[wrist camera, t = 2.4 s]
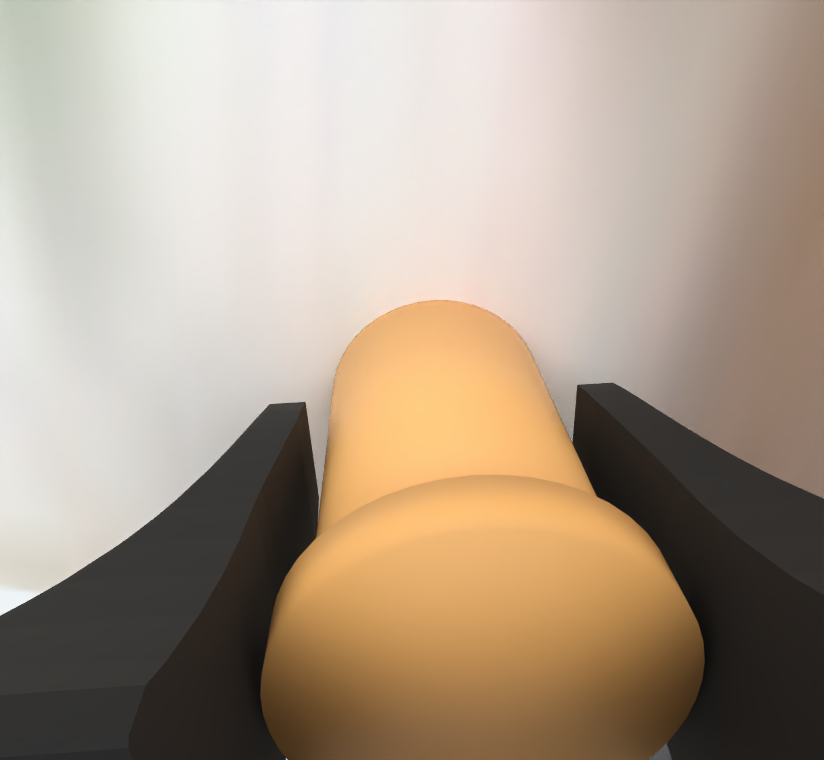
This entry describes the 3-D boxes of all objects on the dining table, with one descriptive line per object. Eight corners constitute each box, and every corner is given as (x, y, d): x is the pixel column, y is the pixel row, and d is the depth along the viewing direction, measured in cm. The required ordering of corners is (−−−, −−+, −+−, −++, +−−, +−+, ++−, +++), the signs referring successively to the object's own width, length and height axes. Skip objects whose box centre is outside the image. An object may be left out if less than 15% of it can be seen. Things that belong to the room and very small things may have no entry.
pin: (579, 286, 12) (765, 534, 6) (536, 497, 14) (644, 821, 9) (312, 271, 12) (251, 518, 6) (311, 490, 14) (266, 823, 8)
